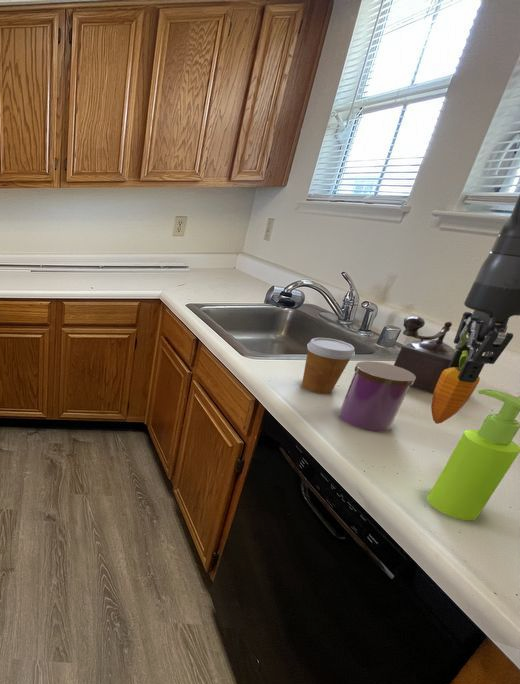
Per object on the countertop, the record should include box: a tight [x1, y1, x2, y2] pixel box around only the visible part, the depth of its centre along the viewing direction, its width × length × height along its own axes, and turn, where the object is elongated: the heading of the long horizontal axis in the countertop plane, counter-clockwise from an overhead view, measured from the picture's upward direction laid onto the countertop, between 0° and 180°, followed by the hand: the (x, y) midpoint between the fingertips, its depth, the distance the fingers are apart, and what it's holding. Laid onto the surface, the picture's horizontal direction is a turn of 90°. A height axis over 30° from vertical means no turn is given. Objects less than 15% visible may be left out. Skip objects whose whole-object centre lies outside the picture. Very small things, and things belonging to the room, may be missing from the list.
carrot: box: [430, 351, 481, 425], centre depth 77 cm, size 5×5×15 cm
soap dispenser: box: [426, 388, 520, 521], centre depth 63 cm, size 6×7×20 cm
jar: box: [338, 360, 416, 433], centre depth 88 cm, size 10×10×12 cm
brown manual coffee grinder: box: [393, 315, 458, 394], centre depth 103 cm, size 16×11×18 cm
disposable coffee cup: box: [301, 337, 356, 395], centre depth 102 cm, size 10×10×12 cm
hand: (460, 375), depth 76 cm, fingers closed on carrot, 4 cm apart
